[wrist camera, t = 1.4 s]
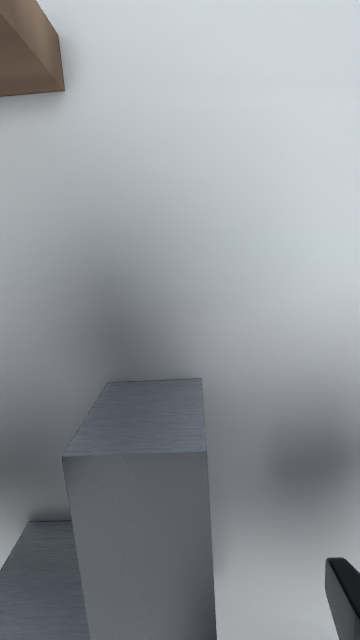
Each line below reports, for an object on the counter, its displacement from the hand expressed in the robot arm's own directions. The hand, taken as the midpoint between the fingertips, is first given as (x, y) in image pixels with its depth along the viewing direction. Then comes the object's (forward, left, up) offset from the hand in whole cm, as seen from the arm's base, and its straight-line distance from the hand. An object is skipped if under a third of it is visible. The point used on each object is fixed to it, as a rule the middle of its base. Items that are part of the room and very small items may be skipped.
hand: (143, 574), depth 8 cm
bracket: (-1, +2, -5) cm, 5 cm away
